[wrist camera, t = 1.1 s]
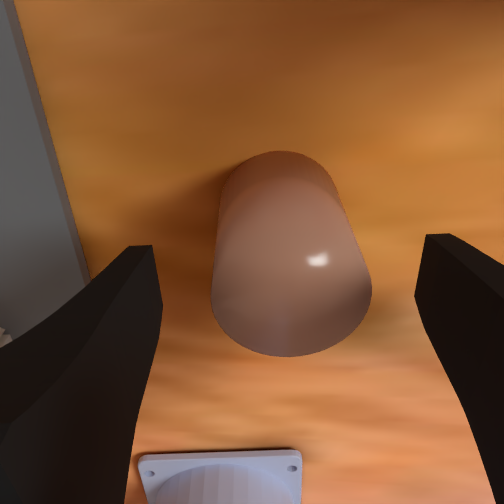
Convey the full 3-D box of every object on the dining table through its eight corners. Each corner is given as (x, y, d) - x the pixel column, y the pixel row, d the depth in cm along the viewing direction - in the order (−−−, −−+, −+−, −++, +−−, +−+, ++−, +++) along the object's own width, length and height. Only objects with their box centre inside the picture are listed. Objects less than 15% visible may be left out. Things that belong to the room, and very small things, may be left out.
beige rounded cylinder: (334, 254, 17) (364, 354, 13) (224, 258, 17) (217, 359, 13) (341, 148, 15) (380, 225, 10) (215, 153, 15) (203, 232, 11)
